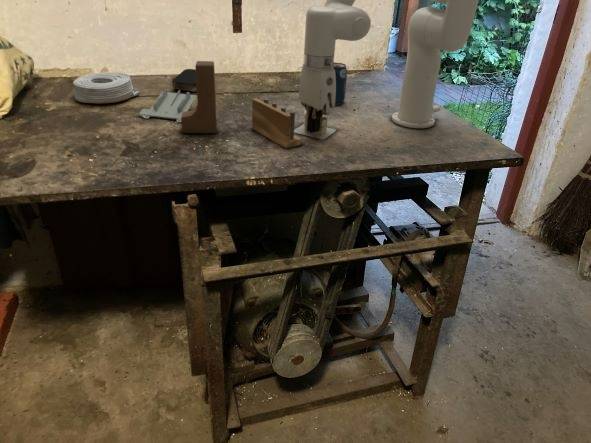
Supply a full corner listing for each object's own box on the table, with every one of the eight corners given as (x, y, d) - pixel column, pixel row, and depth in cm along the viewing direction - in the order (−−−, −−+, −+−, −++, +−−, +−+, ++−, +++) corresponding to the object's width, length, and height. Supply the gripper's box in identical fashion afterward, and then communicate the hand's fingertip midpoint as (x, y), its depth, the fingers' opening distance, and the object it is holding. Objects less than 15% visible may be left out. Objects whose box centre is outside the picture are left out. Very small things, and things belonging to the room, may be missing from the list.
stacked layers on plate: (337, 129, 136) (339, 111, 133) (323, 139, 129) (325, 120, 126) (305, 122, 140) (307, 104, 137) (291, 131, 133) (291, 112, 130)
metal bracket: (155, 84, 145) (202, 89, 143) (160, 101, 149) (205, 106, 147) (135, 111, 136) (185, 117, 133) (140, 128, 140) (189, 134, 138)
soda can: (348, 104, 156) (352, 66, 150) (329, 106, 153) (332, 68, 147) (337, 98, 161) (340, 61, 155) (319, 100, 159) (321, 62, 152)
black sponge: (186, 78, 173) (186, 68, 171) (209, 80, 172) (209, 70, 170) (171, 91, 159) (169, 80, 157) (195, 93, 158) (195, 82, 156)
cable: (144, 93, 157) (142, 74, 153) (114, 109, 142) (111, 88, 139) (96, 86, 160) (93, 68, 157) (62, 102, 145) (58, 82, 142)
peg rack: (267, 125, 136) (267, 96, 132) (301, 144, 126) (303, 113, 121) (252, 128, 134) (252, 98, 129) (286, 148, 123) (287, 116, 119)
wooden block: (182, 133, 128) (176, 64, 119) (183, 127, 132) (178, 60, 123) (216, 133, 129) (213, 65, 120) (216, 127, 133) (214, 61, 124)
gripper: (350, 66, 117) (342, 137, 126) (311, 53, 127) (306, 120, 136) (326, 69, 113) (320, 143, 122) (288, 56, 123) (285, 125, 132)
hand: (313, 131), depth 129 cm, fingers closed
